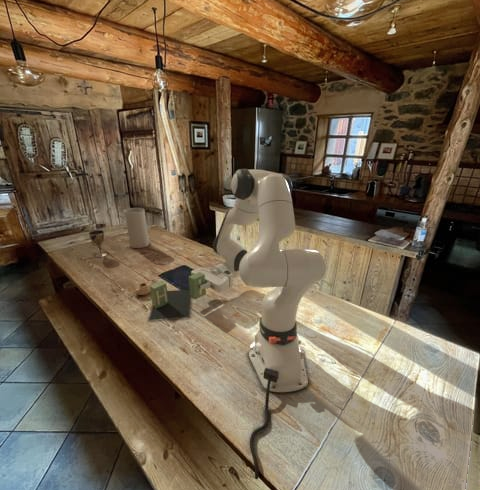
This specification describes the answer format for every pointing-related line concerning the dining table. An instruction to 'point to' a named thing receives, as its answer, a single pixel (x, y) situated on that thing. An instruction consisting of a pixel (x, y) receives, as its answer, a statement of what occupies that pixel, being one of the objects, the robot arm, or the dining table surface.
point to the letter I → (197, 285)
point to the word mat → (173, 306)
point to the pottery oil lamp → (144, 287)
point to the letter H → (159, 294)
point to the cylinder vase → (137, 227)
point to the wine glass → (98, 241)
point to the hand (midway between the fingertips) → (195, 285)
